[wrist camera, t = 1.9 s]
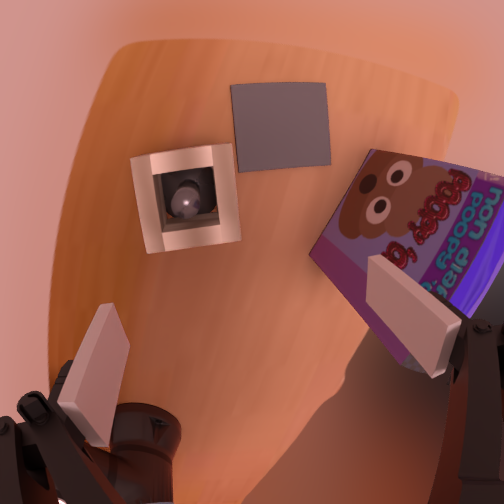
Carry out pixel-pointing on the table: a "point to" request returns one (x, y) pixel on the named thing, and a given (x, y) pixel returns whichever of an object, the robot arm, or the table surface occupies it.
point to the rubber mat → (281, 125)
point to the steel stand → (189, 192)
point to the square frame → (199, 226)
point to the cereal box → (415, 234)
